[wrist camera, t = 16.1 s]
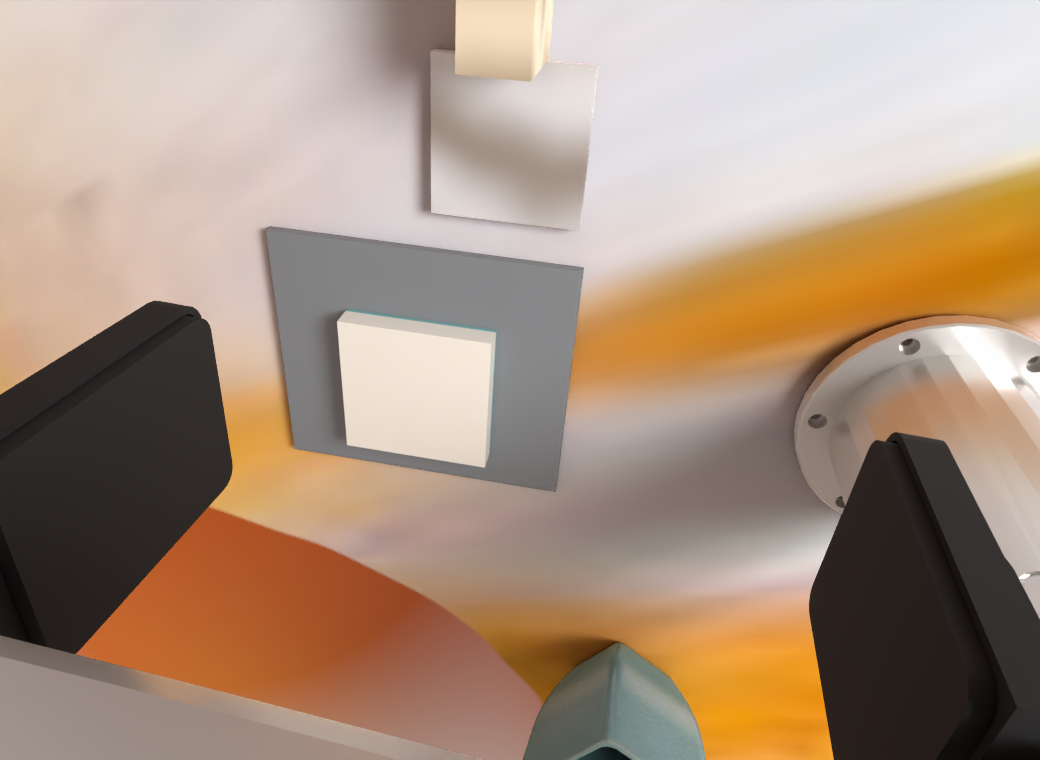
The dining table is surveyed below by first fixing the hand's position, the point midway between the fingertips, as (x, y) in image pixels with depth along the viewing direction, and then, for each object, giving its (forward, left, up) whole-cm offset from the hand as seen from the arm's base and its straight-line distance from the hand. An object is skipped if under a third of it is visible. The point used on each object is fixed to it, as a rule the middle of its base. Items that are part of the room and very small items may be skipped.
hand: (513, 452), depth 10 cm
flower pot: (-6, +38, -25) cm, 45 cm away
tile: (+8, +12, -23) cm, 27 cm away
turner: (+4, -3, -24) cm, 25 cm away
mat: (+8, +15, -24) cm, 30 cm away
